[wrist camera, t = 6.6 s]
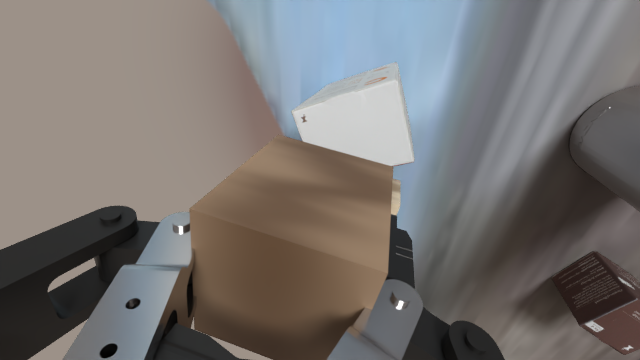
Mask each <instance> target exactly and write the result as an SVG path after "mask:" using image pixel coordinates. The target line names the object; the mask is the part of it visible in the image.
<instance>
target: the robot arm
mask: <svg viewBox="0 0 640 360" xmlns="http://www.w3.org/2000/svg"><path fill="white" fill-rule="evenodd" d="M570 152H571V156H572V158H573V160H574V161H575V162H576V164H577V165H578V166H579V167H581V168H582V169H583V170H584V171H586V172H587V173H588V174H590V175H591V176H592V177H594V178H595V179H596V180H598V181H599V182H601V183H602V184H603V185H604V186H606V187H607V188H608V189H610V190H611V191H612V192H614V193H615V194H616V195H618V196H619V197H620V198H622V199H623V200H624V201H626V202H627V203H629V204H630V205H631V206H633V207H634V208H635V209H637V210H638V211H639V212H640V86H634V87H629V88H626V89H623V90H620V91H617V92H615V93H613V94H610V95H608V96H606V97H604V98H603V99H601V100H600V101H598V102H597V103H595V104H594V105H593V106H591V107H590V108H589V109H588V110H587V111H586V112H585V113H584V114H583V115H582V116H581V118H580V119H579V120H578V121H577V123H576V125H575V127H574V129H573V131H572V133H571V137H570ZM92 258H94V259H95V263H96V266H95V267H93V268H91V269H89V270H88V271H86V272H84V273H82V274H80V275H79V276H77V277H75V278H73V279H71V280H70V281H68V282H66V283H64V284H62V285H61V286H59V287H57V288H55V289H53V290H52V291H50V292H47V290H48V287H49V285H50V284H51V282H52V281H53V280H54V279H56V278H57V277H58V276H60V275H62V274H64V273H66V272H67V271H69V270H71V269H73V268H75V267H77V266H79V265H81V264H82V263H84V262H86V261H88V260H90V259H92ZM412 259H413V252H412V240H411V238H410V237H409V235H408V233H407V231H404V230H401V229H398V228H397V216H396V215H393V214H391V222H390V242H389V262H388V275H387V277H386V279H385V281H384V284H383V286H382V288H381V290H380V293H379V295H378V297H377V300H376V302H375V304H374V306H373V309H372V310H371V309H368V308H366V307H365V308H364V310H363V311H362V313H361V315H360V316H359V318H358V319H357V321H356V322H355V324H354V325H353V326H350V327H349V328H348V329H347V330H346V332H345V333H344V335H343V336H342V338H341V339H340V341H339V342H338V344H337V345H336V347H335V348H334V350H333V351H332V353H331V354H330V356H329V357H328V358H327V360H505V359H504V357H503V355H502V353H501V351H500V350H499V348H498V346H497V344H496V343H495V341H494V340H493V339H492V338H491V336H490V335H489V334H488V333H486V332H485V331H484V330H483V329H482V328H480V327H478V326H477V325H475V324H473V323H470V322H467V321H456V322H454V323H452V324H451V326H450V325H448V324H447V323H445V322H443V321H442V320H440V319H439V318H437V317H435V316H434V315H432V314H431V313H430V312H429V311H427V310H426V309H425V308H424V307H423V302H422V299H421V297H420V295H419V294H418V293H417V291H416V290H415V286H414V268H413V260H412ZM194 263H195V249H194V248H191V235H190V212H179V213H174V214H171V215H169V216H167V217H165V218H164V219H163V220H162V221H161V222H148V221H137V216H136V212H135V211H134V210H133V209H131V208H129V207H125V206H110V207H105V208H101V209H99V210H96V211H94V212H91V213H89V214H86V215H84V216H81V217H79V218H77V219H74V220H72V221H69V222H67V223H64V224H62V225H60V226H57V227H55V228H52V229H50V230H48V231H45V232H43V233H40V234H38V235H35V236H33V237H31V238H28V239H26V240H23V241H21V242H18V243H16V244H14V245H11V246H9V247H6V248H4V249H1V250H0V360H28V359H29V358H31V357H32V356H34V355H35V354H37V353H38V352H40V351H41V350H43V349H44V348H45V347H47V346H48V345H50V344H51V343H53V342H54V341H56V340H57V339H59V338H60V337H62V336H63V335H64V334H66V333H68V332H69V331H71V330H72V329H74V328H75V327H76V326H78V325H79V324H81V323H82V322H84V321H85V320H87V319H88V318H89V319H88V320H87V322H86V323H85V325H84V327H83V328H82V330H81V332H80V333H79V335H78V336H77V338H76V339H75V341H74V343H73V344H72V346H71V347H70V349H69V350H68V352H67V353H66V355H65V357H64V358H63V360H248V359H239V358H237V357H235V356H234V355H232V354H231V353H230V352H229V351H227V350H226V349H225V348H223V347H222V346H221V345H220V344H219V343H217V342H216V341H215V340H213V339H212V338H211V337H210V336H208V335H206V334H203V333H201V332H198V331H195V330H193V329H191V324H192V320H193V317H194V314H195V311H196V307H197V296H194V295H193V281H192V269H193V266H194Z"/></svg>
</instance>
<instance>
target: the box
mask: <svg viewBox="0 0 640 360" xmlns="http://www.w3.org/2000/svg"><path fill="white" fill-rule="evenodd" d="M551 279H552V280H553V282H554V283H555V285H556V287H557V288H558V290H559V292H560V293H561V295H562V297H563V299H564V300H565V302H566V303H567V305H568V307H569V308H570V310H571V312H572V314H573V315H574V317H575V318H576V320H577V322H578V324H579V326H580V327H582V328H583V329H585V330H586V331H588V332H590V333H591V334H593V335H594V336H596V337H597V338H598V339H599V340H601V341H602V342H604V343H605V344H608V345H609V346H611V347H612V348H614V349H615V350H617V351H618V352H620V353H621V354H623V355H626V354H629V353H631V352H633V351H636V350H638V349H640V283H639V282H638V281H637V280H636V279H635V277H633V276H632V275H631V274H629V273H628V272H626V271H625V270H623V269H622V268H621V267H619V266H618V265H617V264H615V263H613V262H612V261H611V260H609V259H607V258H606V257H604V256H603V255H601V254H600V253H598V252H595V251H593V252H591V253H590V254H588V255H586V256H585V257H583V258H582V259H580V260H578V261H577V262H575V263H574V264H572V265H571V266H569V267H567V268H565V269H564V270H562V271H560V272H558V273H557V274H555V275H553V276H552V277H551Z"/></svg>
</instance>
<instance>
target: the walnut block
mask: <svg viewBox="0 0 640 360" xmlns="http://www.w3.org/2000/svg"><path fill="white" fill-rule="evenodd" d="M392 181H393V167H392V166H389V165H385V164H382V163H378V162H374V161H371V160H367V159H364V158H360V157H357V156H353V155H349V154H346V153H342V152H339V151H335V150H331V149H328V148H324V147H321V146H317V145H314V144H310V143H306V142H303V141H299V140H296V139H292V138H288V137H285V136H281V135H277V136H276V137H275V138H274V139H273V140H271V141H270V142H269V143H268V144H267V145H265V146H264V147H263V148H262V149H261V150H259V152H257V153H256V154H255V155H253V156H252V157H251V158H250V159H249V160H248V161H246V162H245V163H244V164H243V165H241V166H240V167H239V168H238V169H237V170H236V171H234V172H233V173H232V174H231V175H230V176H228V177H227V178H226V179H225V180H223V181H222V182H221V183H220V184H219V185H217V186H216V187H215V188H214V189H213V190H211V191H210V192H209V193H208V194H207V195H205V196H204V197H203V198H202V199H201V200H199V201H198V202H197V203H196V204H195V205H193V206H192V207H191V208H190V210H189V212H190V235H191V248H194V249H195V263H194V266H193V269H192V281H193V295H194V296H197V307H196V311H195V314H194V327H195V330H197V331H200V332H202V333H205V334H208V335H210V336H213V337H215V338H218V339H220V340H223V341H226V342H228V343H231V344H234V345H236V346H239V347H241V348H244V349H247V350H249V351H252V352H254V353H257V354H260V355H262V356H265V357H268V358H270V359H273V360H327V358H328V357H329V356H330V354H331V353H332V351H333V350H334V348H335V347H336V345H337V344H338V342H339V341H340V339H341V338H342V336H343V335H344V333H345V332H346V330H347V329H348V328H349V327H350V326H353V325H354V324H355V322H356V321H357V319H358V318H359V316H360V315H361V313H362V311H363V310H364V308H365V307H366V308H368V309H371V310H372V309H373V306H374V304H375V302H376V300H377V297H378V295H379V293H380V290H381V288H382V286H383V284H384V281H385V279H386V277H387V275H388V262H389V242H390V222H391V201H392Z"/></svg>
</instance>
